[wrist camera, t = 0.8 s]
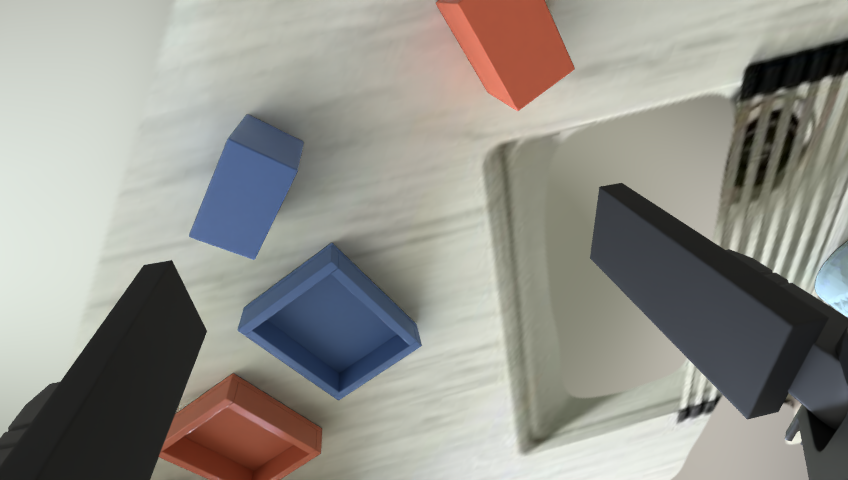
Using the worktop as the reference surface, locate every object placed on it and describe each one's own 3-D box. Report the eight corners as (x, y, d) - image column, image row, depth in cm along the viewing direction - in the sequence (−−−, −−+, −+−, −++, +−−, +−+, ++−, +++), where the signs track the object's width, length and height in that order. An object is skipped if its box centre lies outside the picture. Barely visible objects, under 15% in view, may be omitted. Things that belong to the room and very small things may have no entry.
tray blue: (243, 307, 31) (236, 330, 28) (331, 242, 29) (331, 261, 27) (338, 377, 36) (338, 401, 34) (416, 324, 34) (422, 345, 32)
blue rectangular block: (246, 113, 24) (227, 137, 20) (304, 141, 25) (298, 170, 21) (211, 198, 26) (187, 237, 22) (267, 220, 28) (254, 260, 23)
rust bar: (435, 2, 23) (457, 3, 19) (487, -41, 22) (523, -50, 18) (488, 93, 26) (517, 111, 22) (535, 57, 25) (575, 69, 21)
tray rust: (159, 424, 35) (148, 452, 33) (233, 372, 33) (226, 398, 31) (255, 471, 40) (250, 498, 38) (322, 428, 39) (321, 453, 36)
